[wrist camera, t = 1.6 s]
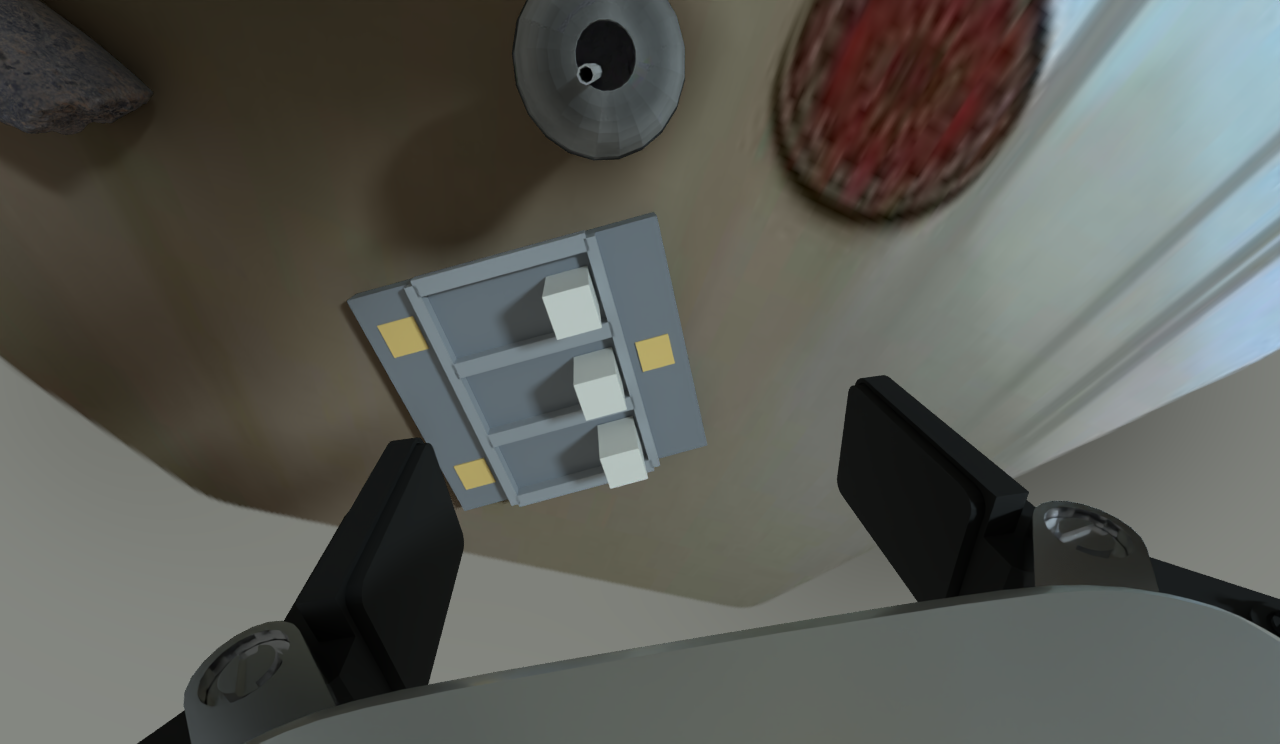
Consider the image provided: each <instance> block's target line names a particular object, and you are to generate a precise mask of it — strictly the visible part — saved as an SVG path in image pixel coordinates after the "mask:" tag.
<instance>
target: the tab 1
mask: <svg viewBox="0 0 1280 744" xmlns="http://www.w3.org/2000/svg"><path fill="white" fill-rule="evenodd" d="M542 299H543V302H544V304H545V307H546V310H547V313H548V315H549V318H550V321H551V324H552V327H553V329H554V332H555V335H556V338H557V340H559V339H563V338H567V337H570V336H574V335H578V334H581V333H585V332H589V331H592V330H596V329H600V328H602V324H601V316H600V308H599V303H598V300H597V296H596V293H595V290H594V286H593V283H592V280H591V276H590V273H589V270H588V266H583V267H580V268H576V269H572V270H569V271H565V272H561V273H558V274H554V275H551V276H547V277H546V279H545V284H544V289H543V295H542Z"/></svg>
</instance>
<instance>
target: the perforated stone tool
mask: <svg viewBox="0 0 1280 744" xmlns="http://www.w3.org/2000/svg"><path fill="white" fill-rule="evenodd" d="M152 94H153V92H152V91H151V90H150V89H149V88H148V87H147V86H146V85H145V84H144V83H143V82H142V81H141V80H139V79H138V78H137V77H136V76H135V75H134V74H133V73H132V72H131V71H129V70H128V69H127V68H126V67H125V66H123V65H122V64H121V63H120V62H119V61H118V60H116V59H115V58H114V57H113V56H112V55H111V54H109V53H108V52H107V51H106V50H104V49H103V48H102V47H101V46H100V45H98V44H97V43H96V42H95V41H94V40H92V39H91V38H90V37H88V36H87V35H86V34H84V33H83V32H82V31H80V30H79V29H78V28H76V27H75V26H74V25H72V24H71V23H70V22H68V21H67V20H66V19H64V18H63V17H62V16H60V15H59V14H57V13H56V12H55V11H53V10H52V9H50V8H49V7H48V6H46V5H45V4H44V3H42V2H41V1H39V0H0V121H1V122H3V123H4V124H6V125H10V126H14V127H16V128H18V129H20V130H21V131H23V132H26V133H46V132H50V131H56V132H58V133H60V134H65V135H68V134H75V133H79V132H81V131H82V130H83V129H84V128H85V126H87V125H88V124H89V123H91V122H99V123H112V122H114V121H115V120H117V119H118V118H121V117H122V116H124V115H126V114H128V113H129V112H131V111H134V110H135V109H138V108H139V107H140V106H142V104H146V103H147V102H148V101H149V98H150V97H151V96H152Z"/></svg>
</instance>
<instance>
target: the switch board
mask: <svg viewBox="0 0 1280 744" xmlns="http://www.w3.org/2000/svg"><path fill="white" fill-rule="evenodd" d="M583 266H588V270H589V273H590V276H591V280H592V283H593V286H594V290H595V293H596V296H597V300H598V303H599V308H600V316H601V324H602V328H600V329H596V330H592V331H589V332H585V333H581V334H578V335H574V336H570V337H567V338H563V339H559V340H557V338H556V335H555V332H554V329H553V327H552V324H551V321H550V318H549V315H548V313H547V310H546V307H545V304H544V302H543V299H542V295H543V289H544V284H545V279H546V277H547V276H551V275H554V274H558V273H561V272H565V271H569V270H572V269H576V268H580V267H583ZM347 303H348V304H349V306H350V308H351V310H352V311H353V313H354V315H355V317H356V319H357V320H358V322H359V324H360V326H361V327H362V329H363V331H364V333H365V335H366V336H367V338H368V340H369V342H370V343H371V345H372V347H373V349H374V351H375V352H376V354H377V356H378V358H379V359H380V361H381V363H382V365H383V367H384V368H385V370H386V372H387V374H388V376H389V377H390V379H391V381H392V383H393V384H394V386H395V388H396V390H397V392H398V393H399V395H400V397H401V399H402V400H403V402H404V404H405V406H406V408H407V409H408V411H409V413H410V415H411V416H412V418H413V420H414V422H415V424H416V425H417V427H418V429H419V431H420V433H421V434H422V436H423V438H424V440H425V441H426V443H430V444H431V445H432V446H433V449H434V451H435V454H436V457H437V460H438V463H439V466H440V468H441V470H442V472H443V473H444V475H445V477H446V479H447V481H448V482H449V484H450V486H451V488H452V489H453V491H454V493H455V495H456V497H457V498H458V500H459V502H460V504H461V506H462V507H463V509H464V511H466V510H470V509H474V508H477V507H481V506H485V505H488V504H492V503H496V502H499V501H503V500H507V499H508V500H509V502H510V504H511V506H513V505H516V504H519V506H520V507H521V506H525V505H529V504H532V503H536V502H540V501H543V500H547V499H551V498H555V497H558V496H562V495H566V494H569V493H573V492H577V491H580V490H584V489H588V488H592V487H595V486H599V485H603V484H606V483H608V481H607V478H606V475H605V472H604V469H603V467H602V464H601V461H600V455H599V441H598V427H597V425H601V424H605V423H608V422H612V421H616V420H619V419H623V418H627V417H630V416H633V419H634V423H635V426H636V429H637V432H638V436H639V439H640V442H641V446H642V451H643V456H644V461H645V466H646V471H647V472H651V471H654V467H657V466H660V462H659V458H662V457H666V456H669V455H673V454H677V453H680V452H684V451H688V450H691V449H695V448H699V447H703V446H706V445H707V442H706V437H705V433H704V428H703V424H702V419H701V415H700V410H699V406H698V401H697V396H696V392H695V387H694V383H693V378H692V374H691V369H690V365H689V360H688V356H687V351H686V347H685V342H684V337H683V333H682V328H681V324H680V319H679V315H678V310H677V306H676V301H675V297H674V292H673V288H672V283H671V278H670V274H669V269H668V265H667V260H666V256H665V251H664V247H663V242H662V238H661V233H660V229H659V224H658V219H657V215H656V214H655V213H654V212H652V213H648V214H644V215H641V216H637V217H634V218H630V219H626V220H623V221H619V222H615V223H612V224H608V225H605V226H601V227H597V228H594V229H590V230H586V231H585V230H583V231H579V232H576V233H572V234H568V235H565V236H561V237H557V238H554V239H550V240H547V241H543V242H539V243H536V244H532V245H528V246H525V247H521V248H518V249H514V250H510V251H507V252H503V253H499V254H496V255H492V256H488V257H485V258H481V259H478V260H474V261H470V262H467V263H463V264H459V265H456V266H452V267H449V268H445V269H441V270H438V271H434V272H430V273H427V274H423V275H419V276H416V277H414V278H412V279H409V280H405V281H401V282H398V283H394V284H390V285H387V286H383V287H379V288H376V289H372V290H369V291H365V292H361V293H358V294H355V295H354V296H352V297H351V298H350V299H349V300H347ZM609 347H612V349H613V353H614V356H615V359H616V363H617V366H618V369H619V373H620V376H621V379H622V384H623V390H624V396H625V401H626V407H627V410H624V411H621V412H617V413H613V414H610V415H606V416H602V417H599V418H595V419H591V420H588V421H586V419H585V416H584V413H583V411H582V408H581V405H580V402H579V399H578V397H577V394H576V391H575V388H574V357H576V356H580V355H584V354H587V353H591V352H595V351H598V350H602V349H606V348H609Z"/></svg>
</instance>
